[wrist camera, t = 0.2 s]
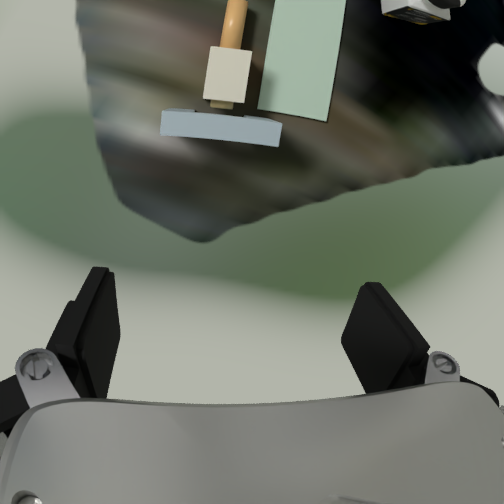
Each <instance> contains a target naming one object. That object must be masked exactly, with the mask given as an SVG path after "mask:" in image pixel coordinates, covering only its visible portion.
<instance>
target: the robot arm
mask: <svg viewBox="0 0 504 504" xmlns="http://www.w3.org/2000/svg"><path fill="white" fill-rule="evenodd" d="M119 341H120V325H119V316H118V308H117V299H116V288H115V279H114V273H113V272H109V268H106V267H92V269H91V271H90V273H89V275H88V277H87V279H86V280H85V282H84V284H83V286H82V288H81V290H80V292H79V294H78V296H77V298H76V300H75V301H69V302H68V303H67V305H66V307H65V309H64V311H63V313H62V315H61V317H60V319H59V321H58V323H57V325H56V327H55V330H54V331H53V334H52V336H51V338H50V340H49V342H48V344H47V347H46V349H42V348H36V349H32V350H29V351H27V352H25V353H23V354H22V355H21V356H20V357H19V358H18V360H17V362H16V365H15V371H16V375H13V376H11V377H9V378H8V379H6V380H3V381H1V382H0V504H33V503H34V504H504V406H501V407H500V408H499V400H498V398H497V396H496V394H495V393H494V391H493V390H491V389H488V388H486V387H484V386H482V385H480V384H478V383H475V382H473V381H471V380H469V379H467V378H465V377H462V376H460V368H459V364H458V363H457V361H456V360H455V359H454V358H453V357H452V356H450V355H449V354H447V353H444V352H440V351H435V352H432V353H431V354H430V355H428V353H427V351H428V350H429V348H430V346H429V344H428V343H427V342H426V340H425V339H424V338H423V336H422V335H421V334H420V332H419V331H418V330H417V329H416V327H415V326H414V324H413V323H412V322H411V321H410V319H409V318H408V317H407V315H406V314H405V313H404V312H403V310H402V309H401V308H400V307H399V306H398V304H397V303H396V302H395V300H394V299H393V298H392V297H391V295H390V294H389V293H388V292H387V290H386V289H385V288H384V287H383V286H382V284H381V283H379V282H366V283H365V284H364V285H363V286H361V287H360V290H359V292H358V295H357V298H356V301H355V303H354V306H353V308H352V311H351V314H350V316H349V319H348V322H347V324H346V327H345V329H344V332H343V334H342V337H341V344H342V346H343V348H344V350H345V352H346V354H347V356H348V358H349V360H350V362H351V364H352V366H353V368H354V370H355V372H356V374H357V376H358V378H359V380H360V382H361V384H362V386H363V388H364V390H365V393H366V394H362V395H354V396H346V397H338V398H329V399H320V400H309V401H296V402H281V403H260V404H185V403H163V402H146V401H133V400H118V399H106V398H107V393H108V388H109V384H110V379H111V374H112V370H113V365H114V361H115V357H116V353H117V349H118V345H119Z"/></svg>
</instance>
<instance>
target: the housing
mask: <svg viewBox="0 0 504 504" xmlns="http://www.w3.org/2000/svg"><path fill="white" fill-rule="evenodd" d="M281 129H282V123H280V122H277V121H274V120H271V119H268V118H262V117H255V116H248V115H244V117H237V116H229V115H220V114H210V113H198V112H195V110H190V109H176V108H170V109H166V110H163V111H162V119H161V129H160V135H166V136H181V137H195V138H207V139H217V140H227V141H236V142H245V143H253V144H261V145H268V146H275V147H278V146H279V140H280V134H281Z"/></svg>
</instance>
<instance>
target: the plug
mask: <svg viewBox="0 0 504 504" xmlns="http://www.w3.org/2000/svg"><path fill="white" fill-rule="evenodd" d="M247 8H248V2H247V1H245V0H228V4H227V9H226V14H225V20H224V25H223V31H222V37H221V42H220V47H214V46H211V49H210V55H209V61H208V67H207V74H206V81H205V88H204V95H203V99H211V103H210V107H214V108H223V109H233V103H234V102H239V103H244V100H245V94H246V87H247V81H248V75H249V68H250V62H251V56H252V51H246V50H240V48H241V42H242V36H243V30H244V25H245V19H246V13H247Z"/></svg>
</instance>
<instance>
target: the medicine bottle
mask: <svg viewBox="0 0 504 504" xmlns="http://www.w3.org/2000/svg"><path fill="white" fill-rule="evenodd" d="M465 2H466V0H381V6H382V14H383V15H386V16H390V17H395V18H399V19H403V20H406V21H410V22H414V23H417V24H421V25H422V24H428V23H433V22H440V21H446V20H450V10H449V8H455V7H460V6H462V5H464V4H465Z"/></svg>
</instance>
